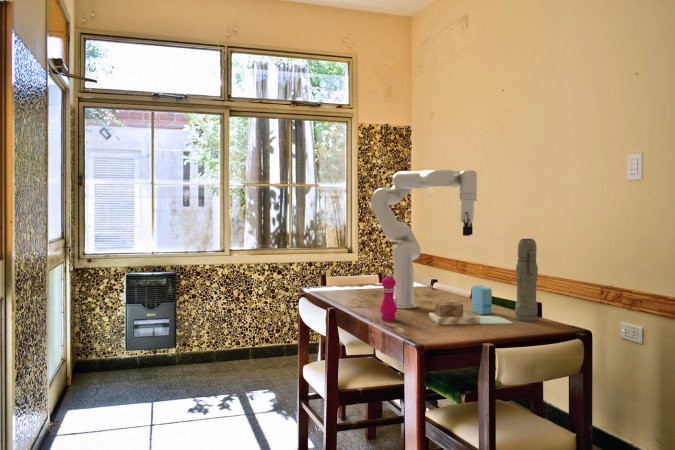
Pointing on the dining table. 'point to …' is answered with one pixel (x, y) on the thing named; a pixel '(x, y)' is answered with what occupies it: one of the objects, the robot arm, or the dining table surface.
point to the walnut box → (449, 309)
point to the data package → (481, 300)
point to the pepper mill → (388, 299)
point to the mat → (493, 320)
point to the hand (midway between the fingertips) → (467, 235)
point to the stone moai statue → (526, 281)
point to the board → (455, 319)
